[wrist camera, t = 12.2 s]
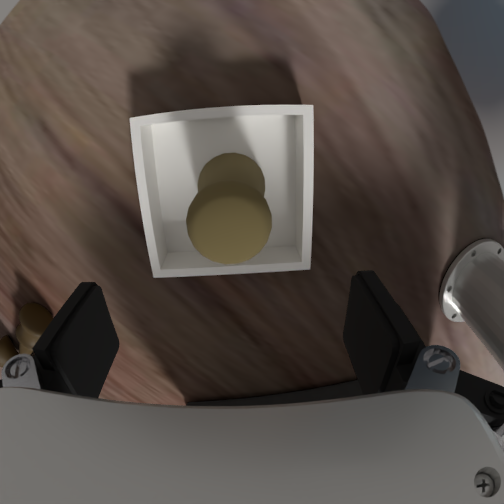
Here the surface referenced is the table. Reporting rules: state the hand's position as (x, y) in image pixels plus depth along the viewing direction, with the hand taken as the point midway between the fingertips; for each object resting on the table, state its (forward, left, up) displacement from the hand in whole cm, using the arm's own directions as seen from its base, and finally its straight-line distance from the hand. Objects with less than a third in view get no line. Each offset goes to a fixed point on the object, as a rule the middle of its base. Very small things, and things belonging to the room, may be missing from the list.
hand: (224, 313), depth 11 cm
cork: (0, 0, -18) cm, 18 cm away
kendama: (+32, +20, -19) cm, 42 cm away
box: (0, 0, -19) cm, 19 cm away
